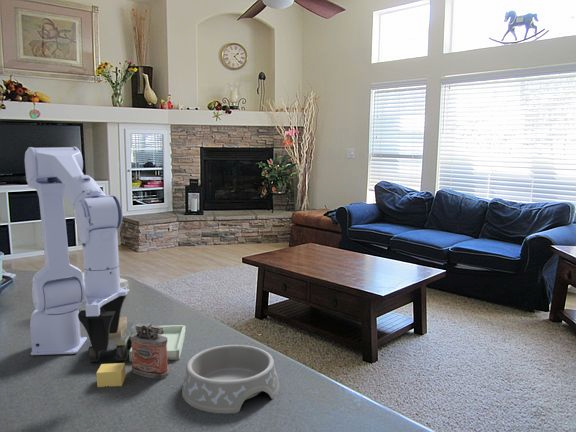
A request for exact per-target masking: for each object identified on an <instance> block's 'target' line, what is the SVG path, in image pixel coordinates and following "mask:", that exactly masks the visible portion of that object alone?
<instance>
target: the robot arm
mask: <svg viewBox="0 0 576 432" xmlns="http://www.w3.org/2000/svg"><path fill="white" fill-rule="evenodd" d="M24 169H25V178H26V179H25V180H26V183H27V187H28V188H31V189H35V190H36V192H37V196H38V201H39V210H40V211H39V213H40V221H41V232H42V234H41V235H42V242H43V244H42V245H43V251H44V252H43V253H44V262H45V264H44V266H43V267H41V268H40V269H39V270H38V271H37V272H36V273H34V275H33V276H32V288H31V291H32V292H31V296H32V302H33V305H34V308H35V309H34V310H33V312H32V314H31V316H30V321H29V330H30V343H31V352H30V355H31V356H41V355H42V356H45V355H72V354H74V355H75V354H77V353H78V352H79V351H80V349H81V348H82V347H83V346H84V344H85V342H87V341H88V339H90V342H91V345H92V348H93V350H94V351H100V352H106V351H107V350H108V347H109V346H108V343H109V333H117V330H118V326H119V319H120V317H121V313H122V312H121V311H122V309H123V304H124V301H125V299H126V297H127V294H128V293H129V292H128V291H127V289H121V287H120V275H121V273H120V257H119V255H120V254H119V238H118V229H120V228H121V226H122V223H123V209H122V205H121V202H120V199H119V198H118V196H117V195H114V194H112V195H110V194H106V193H105V192H104V191H103V189H102V188H101V187H100V186H99V184H98V183H97V182H96V180H95V179H94V178H93V177H92V176H90V175H89V174H84V172H83V169H84V160H83V154H82V152H81V151H80V149H79V148H78V147H77V146H70V147H69V146H68V147H67V146H65V147H32V146H29V147H28V148H27V150H26V151H25V153H24ZM64 196H65V198H66V199H67V200H68V202H69V204H70V205H71V207H72V209H73V210H74V217H75V224H76V226H77V231H78V239H79V242H81V244H82V245H81V246H82V261H83V272H84V278H85V282H84V279H83V272H82V270H81V269H80V268H78V267H77V266H75V265H73V264H71V263H70V256H69V245H68V243H69V242H68V234H67V232H68V231H67V223H66V221H67V220H66V211H65V210H66V209H65V201H64ZM66 277H68V278H66ZM60 278H62V279H60ZM84 300H85V301H86V305H85V307H86V310H81V311H80V312H79V308H80V307H81V303H83V302H84ZM80 323H81V324H82V326H83V327H84V329H85V331H86V333H87V336H88V337H87V336H81V325H80Z"/></svg>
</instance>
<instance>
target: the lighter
mask: <svg viewBox="0 0 576 432" xmlns="http://www.w3.org/2000/svg"><path fill="white" fill-rule="evenodd" d="M160 326H161V325H153V324H152V323H151V322H147V323H145V324H143V323H137V324H136V325H135V331H136V332H134V333H133V334H131V335H130V339H131V341H132V346H131V347H132V361H131V362H132V366H131V371H132V373H133V374H136V375H138V376H142V377H145V378H152V379H161V380H162V379H165V378H167V377H168V376H169V375H170V374H169V368H168V360H167V342H168V341H167V337H164V336H161V334H163V333H164V329H163V328H162V327H160Z"/></svg>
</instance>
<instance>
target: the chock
mask: <svg viewBox="0 0 576 432" xmlns="http://www.w3.org/2000/svg"><path fill="white" fill-rule="evenodd" d="M126 376H127V375H126V363H125V362H119V363H115V362H114V363H101V364H100V366H99V368H98V369H97V371H96V383H97V384H96V385H97V388H104V387H105V386H106V387H105V388H107V386H109V387H122V386H123V384H124V381H125V379H126Z"/></svg>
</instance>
